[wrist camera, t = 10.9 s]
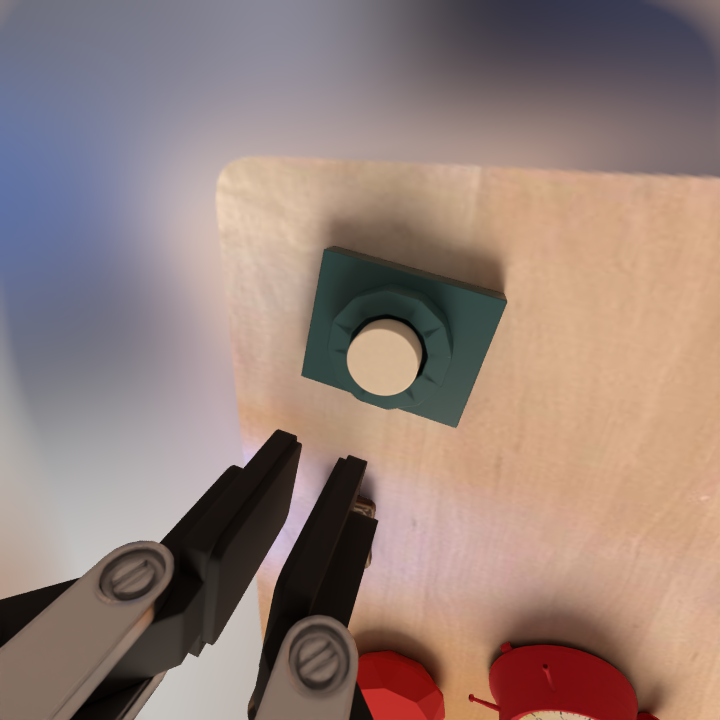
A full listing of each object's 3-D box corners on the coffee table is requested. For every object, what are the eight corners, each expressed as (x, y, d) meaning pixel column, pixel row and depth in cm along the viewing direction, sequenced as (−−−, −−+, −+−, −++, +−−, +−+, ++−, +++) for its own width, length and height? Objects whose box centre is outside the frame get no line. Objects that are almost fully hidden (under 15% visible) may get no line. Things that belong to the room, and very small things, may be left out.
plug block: (333, 245, 22) (311, 252, 19) (505, 293, 21) (511, 309, 18) (310, 365, 26) (288, 388, 23) (457, 414, 24) (455, 445, 21)
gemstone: (355, 696, 38) (347, 733, 36) (341, 634, 35) (331, 670, 33) (447, 717, 36) (446, 759, 33) (441, 652, 33) (439, 692, 30)
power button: (363, 310, 20) (354, 319, 18) (430, 330, 19) (427, 341, 18) (349, 370, 22) (339, 383, 20) (411, 390, 21) (406, 405, 19)
